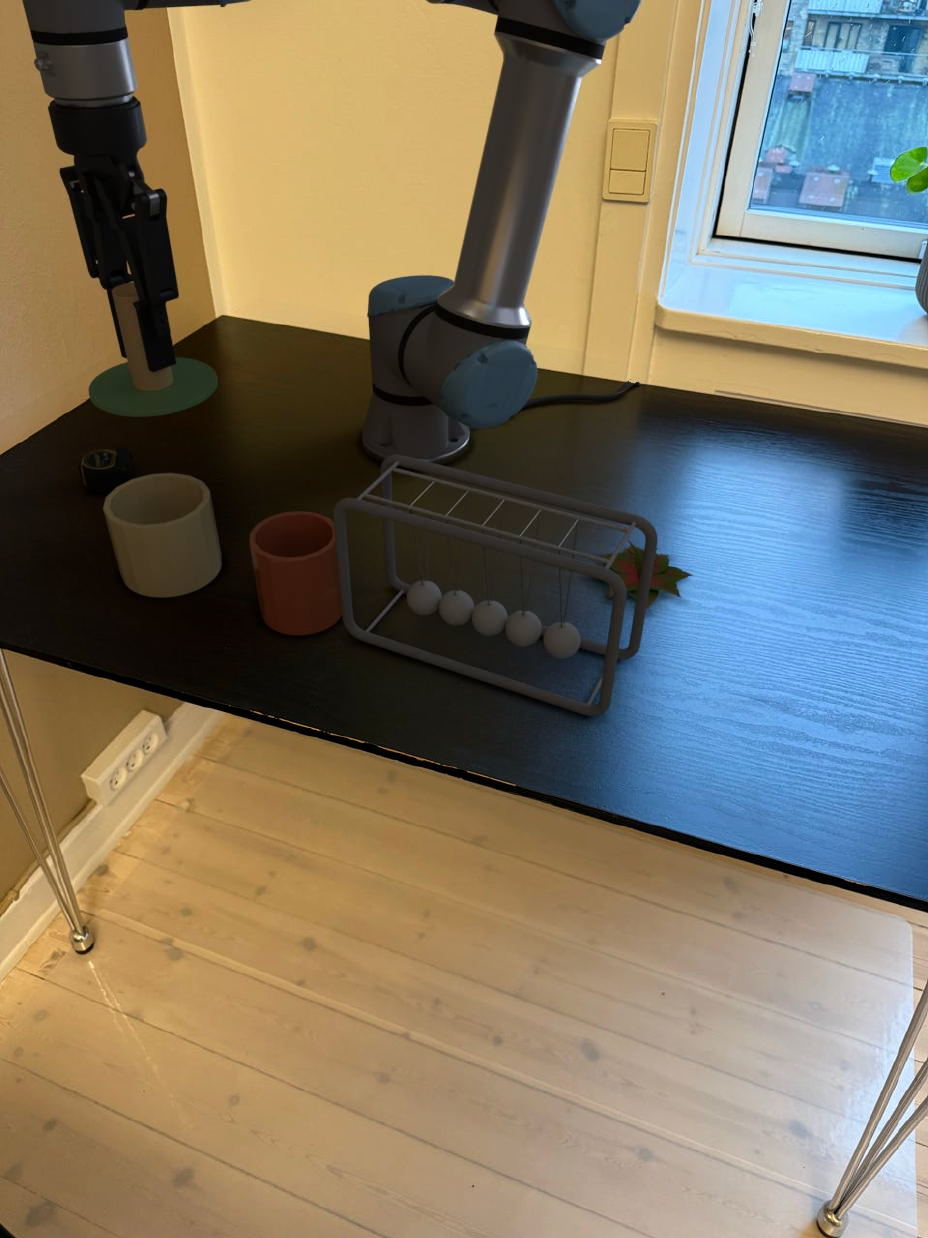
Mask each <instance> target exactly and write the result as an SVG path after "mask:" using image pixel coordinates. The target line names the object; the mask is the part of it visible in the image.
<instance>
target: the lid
mask: <svg viewBox="0 0 928 1238" xmlns="http://www.w3.org/2000/svg"><path fill="white" fill-rule="evenodd" d="M112 295H113V300H114V304H115V308H116V313H117V317H118V322H119V326H120V330H121V335H122V339H123V344H124V348H125V352H126V357H127V358H126V362H122V363H119V364H117V365H114V366H112V367H110V368H107V369H106V370H104V371H102V372H100V373H99V374H98V375H96V376H95V378H93V379H92V381H90V384H89V385H88V390H87V391H88V396H89V399H90V401H91V403H92V404H93V405H94V406H95V407H96V408H97V409H100V410H101V411H103V412H106V413H108V414H113V415H116V416H123V417H133V418H134V417H135V418H142V417H143V418H146V417H157V416H158V417H159V416H164V415H169V414H174V413H178V412H181V411H184V410H188V409H190V408H193V407H195V406H197V405H199V404H201V403H203V402H205V401H206V400H207V399H209V398H210V397H212V395H213V394H214V393H215V392H216V390H217V387H218V384H219V383H218V375H217V372H216V371H215V369H213V368H212V367H211V366H210V365H208V364H207V363H205V362H202V361H200V360H198V359H197V360H196V359H194V358H187V357H182V356H181V357H180V356H175V358H176V364H175V365H172V366H169V367H167V368H164V369H161V370H159V371H156V372H151V371H149V369H148V364H147V359H146V355H145V350H144V345H143V341H142V336H141V331H140V327H139V322H138V317H137V313H136V308H135V307H134V305H133V302H137V301H139V298H138V295H137V291H136V288H135V285H134V282H130V283H125V284H121V285H119V286H116V287H115V288H113V290H112Z"/></svg>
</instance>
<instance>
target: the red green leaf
mask: <svg viewBox="0 0 928 1238" xmlns="http://www.w3.org/2000/svg"><path fill="white" fill-rule="evenodd" d="M627 540H628V539H627ZM627 542H628V543H629V544H630V545H629V546H628V547H623V551H622V552H619V553H618V555H617V556H616V558H615V560H614V561H613V563H612V565H611V566H610V568H609V570H612V571H613V572H615V573H616V574H617V575H619V576H620V578H621V579H622V580H623V582H624V584H625V586H626V590H627V592H628V593H629V595H631V597H633V598H635V599H636V598H637V591H638V585H639V579H640V572H641V566H642V560H643V554H644V549H643V548H641V547H638V546H635V545H634V544H633V543H632V542H631V541H630V540H628V541H627ZM657 550H659V548H658V547H657V548H656V551H657ZM613 553H614V552H611V553H607V554H599V556H600V558H603V559H607V560H609V559H610V558H611V556H612V555H613ZM669 555H670V554H664V553H663V554H662V553H659V554H658V553H656V554H655V560H654V566H653V572H652V577H651V583H650V589H649V595H648V601H647V607H646V610H649V609H650V607H651V605H652V604H653V602H655V601H656V600H657V598H658V597H659V595H660V591H662V592H665V593H667V594H670V595H673V596H676V597H678V598H681V599H682V596H681V594H680V591H679V589H678V585H677V582H680V581H683V580H685V579H687V578H689V577H692V576H694V574H692V573H689V572H687V571H684V570H683V569H681V568H679V567H677V566H672V565H669V564H670V558H669ZM605 566H606V565H602V566H601V567H605ZM609 592H610V593H609V596H608V598H612V597H614V591H613V588H612V587H611V586H610V585H609Z"/></svg>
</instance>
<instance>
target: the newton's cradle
mask: <svg viewBox="0 0 928 1238" xmlns="http://www.w3.org/2000/svg"><path fill="white" fill-rule="evenodd" d="M397 466H402V467H406V468H409V469H408V470H406V469H403V468H398V467H397ZM409 470H414V471H417V472H421V473H424V474H425V473H426V474H429V475H432V476H428V475H424V474H420V473H417V472H413V471H409ZM392 472H394V473H398V474H402V475H405V476H410V477H414V478H417V479H421V480H425V481H429V482H430V484H429V485H428V487H426V488H425V489H424V490H423V492H422V493H420V495H418V497H416V499H414V500H413V502H412V503H411V504H406V503H402V502H398V501H395V500H393V484H392ZM379 473H380V476H379V477H378V478H377V479H375V481H373V482H372V483H371V485H369V486H368V487H367V488H366V489H365V490H364V491H363V492H362V493H361V494H360V495H359V496H358V497H357V498H354V497H345V498H342V499H340V500H339V501H337V503H336V504H335V505H334V508H333V514H332V515H333V523H334V528H335V539H336V550H337V561H338V572H339V584H340V595H341V606H342V616H341V617H342V622H343V625H344V627H345V630H347V632H348V633H349V634H350V635H351V636H352V637H354V638H355V639H357V640H358V641H361V642H364V643H367V644H369V645H373V646H376V647H379V648H381V649H384V650H387V651H391V652H394V653H397V654H399V655H403V656H406V657H409V658H412V659H415V660H417V661H421V662H424V663H427V664H430V665H432V666H436V667H439V668H442V669H444V670H448V671H450V672H454V673H457V674H460V675H463V676H466V677H469V678H472V679H475V680H478V681H481V682H484V683H487V684H490V685H493V686H496V687H499V688H502V689H505V690H508V691H511V692H514V693H516V694H520V695H523V696H526V697H529V698H532V699H535V700H538V701H541V702H544V703H547V704H550V705H553V706H556V707H559V708H562V709H565V710H568V711H571V712H574V713H577V714H580V715H583V716H587V717H598V716H601V715H604V714H605V713H606V712H607V711H608V710H609V709H610V706H611V703H612V697H613V690H614V684H615V676H616V671H617V663H618V660H629V659H631V658H634V657H635V655H637V653H638V652H639V651H640V648H641V644H642V643H641V642H642V636H643V630H644V626H645V625H644V624H645V618H646V612H647V608H646V607H647V601H648V595H649V589H650V583H651V577H652V572H653V566H654V560H655V554H657V550H656V548H658V533H657V530H656V528H655V527H654V525H653V524H652V522H650V521H649V520H648V519H646V518H645V517H643V516H641V515H638V514H634V513H630V512H626V511H623V510H619V509H615V508H611V507H607V506H603V505H600V504H595V503H591V502H587V501H583V500H579V499H575V498H573V497H568V496H564V495H560V494H556V493H551V492H548V491H545V490H540V489H536V488H533V487H528V486H525V485H520V484H516V483H512V482H509V481H505V480H502V479H501V480H500V479H497V478H493V477H489V476H485V475H481V474H476V473H473V472H469V471H466V470H461V469H458V468H454V467H450V466H447V465H438V464H434V463H431V462H427V461H423V460H419V459H415V458H411V457H407V456H403V455H391V456H388V457H387V458H386V459H385V460H384V461H383V463H381V465H380V472H379ZM433 476H435V477H433ZM436 476H437V477H441V478H444V479H448V480H452V481H456V482H460V483H464V484H467V485H472V486H475V487H479V488H483V489H486V490H487V489H488V490H491V491H495V492H498V493H502V494H507V495H510V496H514V497H518V498H521V499H525V500H526V499H527V500H528V501H533V502H537V503H541V504H545V505H549V506H553V507H556V508H560V509H564V510H568V511H572V512H575V513H580V514H582V515H583V514H584V515H587V516H590V517H596V518H599V519H602V520H607V521H610V522H613V523H619V524H622V525H626V526H629V527H624V526H621V525H617V524H613V523H609V522H606V521H600V520H597V519H593V518H589V517H586V516H582V515H577V514H574V513H570V512H567V511H562V510H559V509H555V508H551V507H547V506H543V505H539V504H536V503H532V502H528V501H523V500H520V499H516V498H512V497H509V496H504V495H501V494H497V493H493V492H489V491H485V490H482V489H478V488H474V487H470V486H467V485H463V484H459V483H455V482H451V481H447V480H444V479H439V478H436ZM431 482H432V483H431ZM379 484H380V489H381V491H380V492H381V497H380V496H376V495H374V494H373V495H372V494H369V493H371V491H372V490H373V489H374V488H376V487H377V486H378V485H379ZM435 484H441V485H443V486H447V487H450V488H451V487H452V488H455V489H460V490H463V491H466V492H465V493H464V494H463V496H461V498H460V499H459V500H458V501H457V502H456V503H455V504H454V505H453V506H452V507H451V508H450V510H449V511H448V512H447V513H446V514H442V513H439V512H436V511H435V512H434V511H433V506H434V505H433V503H434V493H435V492H434V491H435ZM431 486H432V487H431ZM430 487H431V489H432V490H431V502H430V510H427V509H424V508H421V507H417V506H413V505H414V503H415V502H417V501H418V499H420V497H421V496H422V495H423V494H424V493H426V491H427V490H428V489H429V488H430ZM470 493H475V494H478V495H482V496H485V497H490V498H493V499H497V500H500V501H501V502H500V503H499V505H498V506H497V507H496V508H495V509H494V511H493V512H492V513H491V514H490V515H489V516H488V517H487V519H486V520H485V522H484V523H483V524H478V523H476V522H471V521H468V520H467V514H468V506H469V505H468V504H469V495H470ZM465 496H466V501H465V511H464V519H461V518H456V517H453V516H449V514H450V512H452V510H454V508H455V507H456V506H457V505H458V504H459V502H461V501H462V500H463V498H464V497H465ZM364 498H365V499H369V500H372V501H376V502H380V503H381V505H380V504H377V503H373V502H368V501H366V500H363V499H364ZM505 502H509V503H512V504H515V505H520V506H524V507H528V508H532V509H536V510H538V512H537V513H536V514H535V515H534V516H533V518H532V519H531V521H530V522H529V523H528V525H527V526H526V527H525V528H524V529H523V531H522V532H521V533H520V535H519V534H515V533H512V532H507V531H504V530H502V525H503V517H504V508H505ZM394 507H398V508H401V509H406V510H409V511H410V513H409V512H406V511H402V510H398V509H396V508H394ZM500 507H501V513H500V522H499V529H496V528H493V527H490V526H486V525H485V524H486V523H488V521H489V520H490V519H491V518H492V516H493V515H494V514H495V513H496V511H497V510H498V509H499V508H500ZM348 510H352V511H355V512H359V513H363V514H366V515H369V516H373V517H376V518H381V519H382V528H383V529H382V530H383V551H384V569H385V572H384V573H385V576H386V579H387V581H388V583H389V584H390V586H391V587H392V588H393V589H395V590H396V591H397V592H398V593H397V594H396V595H395V597H393V599H392V600H391V601H390V602H389V603H388V604H387V606H385V608H384V609H383V610H382V611H381V612H380V613H379V614H378V615H377V617H376V618H375V619H374V620H373V621H372V623H371V624H370V625H369V626H368V627H367V628H366V629H365V630H364V629H362V628H361V627H359V626H358V625H357V624H356V622H355V619H354V611H353V601H352V598H353V597H352V586H351V573H350V560H349V550H348V537H347V535H348V534H347V523H346V511H348ZM542 511H543V512H547V513H550V514H555V515H559V516H561V517H566V518H569V519H573V520H576V521H575V522H574V524H573V525H572V526H571V528H570V529H569V531H568V532H567V534H566V535H565V537H563V540H562V541H561V542H560V544H559V545H555V544H552V543H548V542H546V541H545V542H544V541H541V540H538V536H539V528H540V522H541V514H542ZM413 512H416V513H419V514H423V515H427V516H429V518H428V517H425V516H424V517H423V516H420V515H416V514H414V513H413ZM537 516H538V517H537ZM432 517H434V518H437V519H441V520H445V522H442V521H437V520H434V519H432ZM536 517H537V523H536V531H535V538H534V539H533V538H530V537H527V536H523V534H524V533H525V532H526V530H527V529H528V527H529V526H531V524H532V522H533V521H534V520H535V518H536ZM448 521H449V522H452V523H456V524H460V525H463V527H461V526H456V525H452V524H449V523H448ZM580 521H581V522H584V523H589V524H592V525H596V526H601V527H604V528H608V529H610V530H611V529H612V530H616V531H619V532H623V533H624V535H623V537H622V539H621V540H620V542H619V543H618V545H617V547H616V548H615V549H614V551H613V552H612V553H613V555H612V556H611V558H610V559H609V560H607V559H603V558H602V557H599V556H596V555H591V554H588V553H584V552H581V551H577V550H576V544H577V535H578V528H579V522H580ZM394 522H395V523H399V524H402V525H406V526H408V527H412V530H413V531H412V532H413V538H414V544H415V550H416V557H417V558H416V559H417V563H418V570H419V576H420V580H418V581H416V582H414V583H413V584H412V585H411V584H408V583H406V582H403V581H402V580H401V579H400V578H399V577H398V576H397V573H396V555H395V554H396V553H395V532H394V530H395V529H394ZM466 526H467V527H470V528H474V529H478V530H481V532H477V531H474V530H471V529H467V528H466ZM574 527H575V532H574V541H573V548H572V549H570V548H566V547H563V546H561V545H562V544H563V542H565V540H566V538H567V537H568V536H569V534H570V533H571V532H572V530H573V528H574ZM415 528H416V529H419V530H423V531H427V532H428V537H427V548H426V549H427V551H426V561H425V571H424V572H425V573H424V574H425V575H424V580H423V573H422V569H421V568H422V567H421V560H420V555H419V547H418V542H417V535H416V529H415ZM635 528H636V529H638V530H640V532H642V534H643V535H644V539H645V542H644V548H643V550H644V554H643V560H642V566H641V572H640V579H639V585H638V591H637V598H635V605H634V611H633V617H632V622H631V623H632V624H631V630H630V637H629V643H628V646H627V647H625V648H620V644H621V637H622V631H623V625H624V617H625V610H626V604H627V597H628V591H627V590H626V586H625V584H624V582H623V580H622V579H621V578H620V576H619V575H617V574H616V573H615V572H613V571H612V570H609V568H610V566H611V565H612V563H613V561H614V560H615V558H616V556H617V555H618V553H621V552H620V551H621V550H622V548H624V545H625V543H626V542H627V540H628V539H629V537H630V535H631V533H632V532H633V530H634V529H635ZM485 532H488V533H493V534H496V535H498V537H495V536H492V535H489V534H486V533H485ZM431 533H433V534H437V535H440V536H445V537H447V544H448V551H449V562H450V569H451V578H452V586H453V590H450V591H448V592H445V594H442V592H441V590H440V588H439V587H438V585H437V584H436V583H434V582H433V581H431V580H427V577H428V567H429V566H428V563H429V553H430V552H429V551H430V540H431ZM501 536H503V537H507V538H511V539H514V540H518V541H519V543H518V542H514V541H510V540H507V539H503V538H501ZM450 538H451V539H455V540H459V541H461V551H460V560H459V561H460V562H459V569H458V570H459V571H458V581H457V589H456V583H455V575H454V568H453V559H452V550H451V539H450ZM522 542H525V543H529V544H532V545H534V546H528V545H525V544H522ZM465 543H468V544H472V545H476V546H480V547H482V548H483V558H484V571H485V585H486V598H487V600H483V601H480V602H479V603H478V604H474V600H473V598H472V597H471V596H470V594H468V593H467V592H465V591H464V590H460V584H461V576H462V575H461V573H462V565H463V556H464V555H463V554H464V544H465ZM537 546H540V547H543V548H545V549H546V548H547V549H551V550H554V551H558V554H556V553H555V552H551V551H547V550H542V549H539V548H537ZM486 548H487V549H490V550H494V551H496V554H495V563H494V571H493V581H492V586H491V587H492V588H491V597H490V595H489V594H490V593H489V581H488V579H489V578H488V567H487V554H486ZM499 552H501V553H504V554H508V555H511V556H514V557H515V556H516V557H518V558H519V559H520V560H519V561H520V588H521V589H520V590H521V610H518V611H515V612H513V613H512V614H511V615H509V614H508V612H507V610H506V608H505V607H504V605H502V603H500V602H498V601H496V600H494V589H495V582H496V576H497V575H496V574H497V567H498V557H499ZM561 553H564V554H568V555H571V557H568V556H565V555H561ZM575 557H580V558H583V559H587V560H590V561H594V562H597V563H601V564H604V566H605V567H602V566H601V565H597V564H594V563H590V562H586V561H583V560H580V559H575ZM523 559H526V560H529V561H531V568H530V574H529V581H528V582H529V583H528V587H527V588H528V589H527V596H526V603H525V604H524V578H523V577H524V576H523ZM534 563H539V564H544V565H546V566H550V567H554V568H558V577H559V578H558V581H559V585H558V586H559V611H560V621H558V622H555V623H552V624H551V625H549V626H545V625H542V621H541V620H540V618H539V617H538V615H537V614H536V613H534V612H532V611H529V610H528V607H529V606H528V604H529V598H530V591H531V584H532V576H533V571H534ZM562 570H564V571H569V578H568V585H567V586H568V587H567V593H566V601H565V608H564V618H563V601H562V597H563V595H562ZM573 573H575V574H579V575H583V576H586V577H589V578H593V579H597V580H600V581H603V582H605V583H607V584H608V585H609V587H610V586H611V587H612V588H613V591H614V596H613V598H612V607H611V612H610V618H609V619H610V620H609V621H610V622H609V627H608V635H607V640H606V643H605V644H604V643H602V642H599V641H595V640H592V639H588V638H585V637H581V635H580V631H579V630H578V629H577V628H576V627H575V625H574V624H571V623H570V622H566V618H567V611H568V603H569V596H570V589H571V581H572V574H573ZM402 595H406V602H407V603H406V604H407V605H408V608H409V609H410V610H411V611H412V612H413V613H414V614H416V615H420V616H429V615H432V614H433V613H435V612H437V611H438V612H439V614H440V618H442V620H443V621H444V622H445V623H447V624H448V625H451V626H463V625H466V623H468V622H469V621H470V620H471V623H472V625H473V628H474V629H475V630H476V631H477V632H478V633H479V634H481V635H482V636H487V637H492V636H496V635H499V634H500V633H502V632H503V630H504V629H505V634H506V638H507V639H508V640H509V641H510V642H511V643H512V644H513V645H515V646H518V647H525V648H526V647H530V646H533V645H534V644H535V643H536V642H537V641H538V640H539V639H540V637H543V645H544V649H545V650H546V651H547V653H548V654H549V655H550V656H552V658H555V659H559V660H560V659H561V660H563V659H564V660H565V659H568V658H571V657H574V655H575V654H576V653H577V652H578V651H579V649H582V650H586V651H588V652H592V653H596V654H598V655H601V656H604V664H603V669H602V675H601V677H600V678H599V681H598V682H597V684H596V686H595V687H594V689H593V691H592V693H591V695H590V696H589V699H588V700H587V702H586V703H585V702H582V701H579V700H576V699H573V698H569V697H567V696H564V695H562V694H561V695H560V694H558V693H555V692H553V691H550V690H546V689H543V688H540V687H537V686H534V685H531V684H527V683H525V682H521V681H519V680H515V679H514V678H513V679H512V678H509V677H506V676H503V675H500V674H497V673H494V672H491V671H489V670H485V669H482V668H479V667H476V666H473V665H469V664H467V663H464V662H461V661H458V660H454V659H451V658H449V657H445V656H443V655H440V654H436V653H433V652H431V651H427V650H424V649H421V648H418V647H415V646H412V645H410V644H406V643H403V642H400V641H397V640H394V639H391V638H388V637H384V636H383V635H378V634H375V633H372V632H371V631H372V629H374V627H375V626H376V625H377V624H378V623H379V622H380V621H381V619H382V618H383V617H384V616H385V615H386V613H388V611H390V609H391V608H392V607H393V605H394V604H395V603H396V602H397V601H398V600H399V599H400V597H401V596H402ZM524 605H525V606H524ZM599 691H600V692H599ZM598 692H599V699H598V702H597V703H596V704H592V703H593V701H594V699H595V697H596V696H597V694H598Z"/></svg>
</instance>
